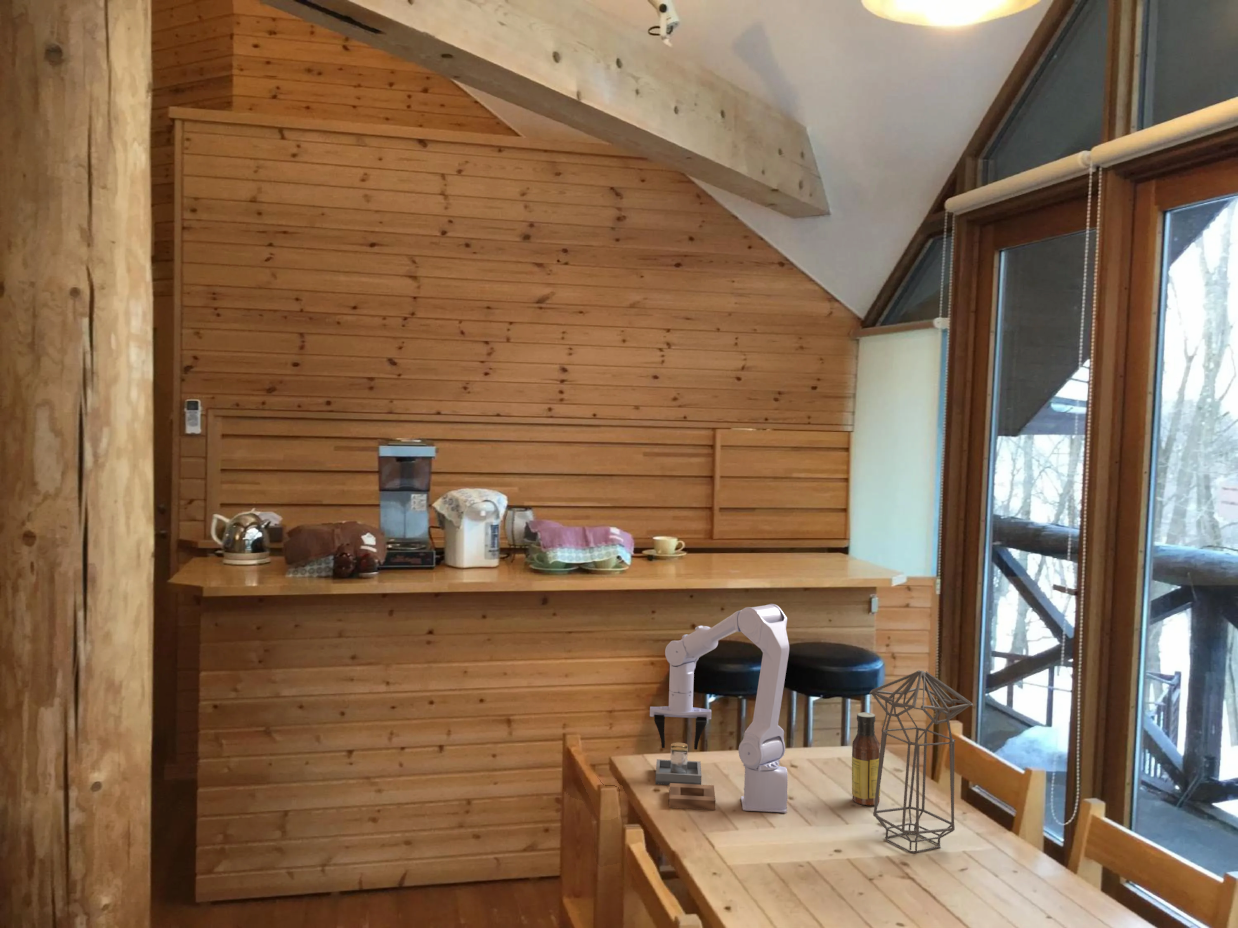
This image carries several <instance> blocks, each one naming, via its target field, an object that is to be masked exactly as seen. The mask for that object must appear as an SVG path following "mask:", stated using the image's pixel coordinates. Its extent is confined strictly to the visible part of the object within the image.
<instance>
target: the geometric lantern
mask: <svg viewBox="0 0 1238 928" xmlns="http://www.w3.org/2000/svg"><path fill="white" fill-rule="evenodd" d="M916 680H917V682H916V685H915V687H914V688H912V687H913V685H914V684H915V681H916ZM903 681H904V682H903ZM921 681H922V684H923V686H922V688H920V686H921ZM900 682H903V683H902V684H901V685H900V686H899V687H898V688H896V689H895V691H885V690H883V689H885V688H887V687H890V686H892V685H895V684H897V683H900ZM929 687H930V689H931V690H930V689H929ZM902 689H903V690H902ZM943 689H944V690H945V691H947V693H950V694H951V695H953V697H956V698H957V699H952V698H951V697H950V696H949V695H948V694H947V693H946V692H945V691H944V690H943ZM919 691H922V705H921V706H920V707H916V706H917V700H918V696H919ZM912 692H913V693H912ZM925 692H926V693H927V697H928V699H929V703H930V705H925ZM909 693H912V694H911V695H910V696H909V697H908V699H907V698H906V697H907V695H908V694H909ZM869 695H872V697H873V698H874V700H875V701H876V702H877V703H878V705H880V706H879V707H881V709H882V710H883V711H884V712H885V716H884V717H885V718H884V720H883V723H882V728H881V735H880V737H881V738H880V755H879V765H878V775H877V785H876V795H875V804H874V805H873V812H872V813H873V815H872V816H873V817H874V818H875V819H876V820H877V821H878V823H879V824H881V826H882V828H884V829H885V837H884V839H885V841H887V842H888V843H890V844H893V845H895V846H897V847H898V848H899V849H902V850H904V851H906V852H908V853H911V854H917V853H922V852H926V851H931V850H936V849H940V848H941V839H942V838H944V837H945V836H948V835H949V834H951V833H953V832H954V831H955V754H956V753H955V752H956V751H955V743H956V739H954V738H953V735H952V729H951V723H950V720H951V719H953V718H955V717H956V716H957V715H959V714H961V713H962V712H963V711H965V710H967V709H968V708H969V707H970V706H971V707H973V705H974V703H972V701H970V700H969V699H967V698H966V697H964V696H963V695H961V694H960V693H959V692H957V691H955V690H954V689H953V688H951V687H950V686H948V685H947V684H945V683H944V682H942V681H941V680H940V679H938V678H937V677H935V676H934V675H932V674H931V673H930V672H928V671H924V670H919V669H918V670H916V671H915V672H911V673H910V674H907V675H906V676H903V677H901V678H898V679H896V680H893V681H890V682H888V683H886V684H882V685H881V686H878V687H876V688H873V689H871V690H870V692H869ZM886 695H889V696H886ZM897 695H898V697H897V698H896V699H895V696H897ZM934 696H935V697H937V698H938V700H939V701H940V703H941V705H942V707H941V706H940V704H939V703H938V702H937V700H936V699H935V698H934ZM902 697H903V701H902V703H901V702H900V700H901V698H902ZM879 698H880V699H881V700H883V701H884V702H885V703H882V701H881V700H880V699H879ZM906 699H907V700H906ZM911 700H912V704H909V703H910V702H911ZM956 703H958V704H959V703H961V704H959V705H958V704H957V705H956ZM888 704H889V705H890V706H891V708H890V710H889V709H888ZM947 704H948V705H952V706H950V707H949V706H947ZM897 708H902V710H901V711H899V712H897V711H896V709H897ZM912 709H913V710H919V711H923V713H925V715H926V716H927V717H928V718H929V719H930V722H929V724H928V725H927V726H926V728H923V727H918V725H917V723H915V721H914V718H912V716H911V714H910V713H909V711H911V710H912ZM927 709H928V710H929V709H931V710H933V711H935V716H934V717H933V716H932V715H931V714H930V713H929V712H928V711H927ZM950 711H951V712H950ZM905 713H907V716H908V717H909V718H910V720H911V721H912V723H913V725H914V726H915V727H914V726H913V727H904V725H903V723H902V720H901V718H900V716H901V715H903V714H905ZM941 713H943V714H945V716H946V718H945V719H941V720H939V719H938V718H939V716H940V715H941ZM892 717H895V718H896V720H897V722H898V724H899V725H900V727H901V728H890V729H889V726H890V723H891V719H892ZM942 723H943V724H944V723H946V724H947V730H948V736H946V735H944V734H942V733H937V732H936V731H933V730H930V728H931V726H932V725H933V724H935V725H938V724H942ZM885 724H886V725H885ZM884 728H885V729H884ZM908 730H915V740H914V742H913V741H911V739H910V738H909V737H910V736H909V735H908V733H907V731H908ZM895 731H897V732H898V731H903V734H904V736H905V738H906V740H905V739H902V738H900V737H897V736H896V735H894V734H893V735H892V734H891V733H889V732H895ZM920 731H921V732H922V733H921V734H920V733H919V732H920ZM928 733H931V734H934V735H936V736H939V737H941V738H944V739H947V740H949V742H944V741H943V742H935V743H934V742H933V743H932V742H931V743H928ZM919 734H920V735H919ZM923 735H924V738H923V739H924V741H923V743H918V742H919V741H920V739H921V738H922V737H923ZM887 737H891V738H893V739H896V740H898V741H901V742H903V743H906V744H907V752H906V753H907V754H906V765H905V780H904V791H903V792H904V794H903V805H902V806H901V807H895V808H894V807H892V808H886V809H880V810H879V809H878V798H879V790H880V791H881V782H882V775H883V768H884V760H885V752H886V746H887V745H886V744H887ZM912 745H913V746H914V749H913V750H914V751H913V759H912V769H911V780H910V790H909V799H908V798H907V797H908V789H909V787H908V784H909V774H910V773H909V771H910V759H911V758H910V757H911V746H912ZM939 745H948V746H949V780H950V781H949V782H950V820H951V821H950V820H948V819H945V818H943V817H941V816H938V815H937V814H934V813H932V812H931V811H928V810H926V809H925V808H926V807H925V802H926V775H927V774H926V773H927V751H928V750H927V746H939ZM920 747H923V762H922V763H923V768H922V794H921V797H922V798H921V807H920ZM915 775H916V776H915ZM915 778H916V779H915ZM915 780H916V784H915ZM914 784H915V789H916V791H915V795H916V796H915V807H914V806H912V803H913V801H912V800H913V796H914V795H913V793H914ZM907 799H908V801H907ZM907 802H908V806H907ZM907 810H908V816H909V822H907V823H906V815H907ZM911 810H913V811H915V822H914V823H912V811H911ZM897 811H902V821H901V822H902V823H901V824H898V825H897V824H894V823H892V822H890V821H888V820H886V819H884V818H883V817H881V816H880V815H879V814H881V813H889V812H897ZM923 813H925V814H927V815H929V816H931V817H933V818H936V819H937V820H940V821H942V822H944V823H946V824H948V825H949V826H948V827H946V828H935V829H928V828H927V827H926V828H925V827H923V826H921V825H920V818H921V817H922V815H923ZM906 826H908V830H907V829H906V830H905V828H906ZM911 826H913V830H911ZM892 829H896V830H897V831H899V832H901V833H898V832H895V831H893V830H892ZM920 829H921V830H920ZM889 832H890V833H892V834H891V835H889ZM909 833H910V834H911V833H912V835H915V839H914V840H913V839H911V838H910V837H909V835H908V834H909ZM923 834H933V835H936V837H934V836H933V837H929V838H928V837H926V836H924V835H923ZM904 835H905V836H904ZM894 837H900V838H902V839H904V840H906V841H908V842H909V848H906V847H904V846H903V845H902V846H901V845H900V844H899V843H896V842H894V841H892V840H891V839H889V838H894ZM918 837H920V839H918ZM921 838H922V839H921ZM935 840H937V841H935ZM924 841H926V842H927V841H929V842H931V843H933V844H935V845H937V846H931V847H927V848H922V849H919V850H918V842H924ZM912 843H915V844H914V845H915V846H914V850H912Z"/></svg>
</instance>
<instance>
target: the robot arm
mask: <svg viewBox="0 0 1238 928" xmlns="http://www.w3.org/2000/svg"><path fill="white" fill-rule="evenodd" d="M787 625H788V617H787V615H786V614H785V613H784V611H783V610H782V608H781V607H780V606H779V605H777V604H775V603H769V604H766V605H758V606H752V607H750V606H746V607H744V608H742V609H741V610H737V611H735V612H734V613H732V614H731V615H729V616H728V617H726V618H724V619H722V620H721V621H719V622H718V623H717V624H715V625H714V626H711V627H710V626H708V625H697V626H696V627H695V628H694V631H692V632H691V633H689V634H683V635H682V636H681V639H680V640H671V641H670V642H669V643H668V644H667V645H666V647H665V652H664V655H665V659H666V661H667V663H668V664H669V686H668V687H669V688H668V690H669V691H668V706H667V705H666V706H665V705H664V706H649V717H651V718H653V719H654V724H655V726H656V728H657V730H658V734H659V738H660V742H661V749H665V747H666V744H665V743H666V739H665V738H666V737H665V728H666V727H665V726H666V725H665V723H666V722H665V720H666V717H667V718H669V717H670V718H688V719H690V718H691V719H695V731H694V733H695V734H694V741H693V742H694V746H693V748H694V750H698V746H699V742H700V740H701V739H700V738H701V736H702V733H703V731H704V729H705V727H706V726H707V720H712V709H709V708H701V707H693V705H694V682H695V681H694V680H695V678H694V677H695V674H694V673H695V670H696V666H697V662H698V661H699V658H701V657H703V656H704V655H706V654H708V653H709V652H712V651H713V650H715V649H716V648H717V647H718V645H719V641H720V640H722V639H724V638H726V637H728V636H730V635H732V634H735V633H740V632H741V633H742V634H743V635H744V636H745V637H746V638H747V639H749V640H750V641H751V642H752V644H754V645H755V646H756V647H757V648H758V649H760V651H761V652H762V657H761V664H760V671H759V672H760V673H759V677H758V683H757V684H758V685H757V691H756V698H755V702H754V703H755V705H754V709H753V717H752V722H751V723H750V724H749V726H748V727H747V728H746V730H745V731H744V734H743V738H742V740H741V742H739V746H738V757H739V759H740V761H741V763H743V764H742V766H743V767H744V780H743V781H744V785H743V786H744V787H743V791H744V792H743V795H741V796H740V801H741V807H742V810H743V811H750V812H767V813H768V812H769V813H784V814H786V813H788V812H787V810H788V809H787V807H788V806H787V805H788V804H787V803H788V796H789V795H788V781H789V780H788V769H787V766H781V765H780V760H781V759H782V758H783V757H784V756H785V753H786V744H785V740H784V735H785V731H784V729H783V728H782V727H781V726H780V725H779V720H780V714H781V707H782V701H783V693H784V689H785V688H784V687H785V682H786V681H785V679H786V675H787V674H786V673H787V668H788V661H789V654H790V643H789V642H790V641H789V638H788V632H787Z"/></svg>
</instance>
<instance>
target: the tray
mask: <svg viewBox="0 0 1238 928" xmlns="http://www.w3.org/2000/svg"><path fill="white" fill-rule="evenodd" d="M670 763H671V759H657V758H656V765H655V767H656V768H655V785H662V786H663V785H667V786H668V785H669V786H670V783H678V784H698V785H702V776H703V775H702V765H701V764H702V763H701V761H697V760H696V761H695V760H687V774H679V773H670Z"/></svg>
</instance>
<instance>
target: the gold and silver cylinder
mask: <svg viewBox="0 0 1238 928" xmlns="http://www.w3.org/2000/svg"><path fill="white" fill-rule="evenodd" d="M688 747H689V746H688V744H687V743H684V742H672V743H671V744H670V760H671V763H670V773H679V774H687V761H688V755H689V754H688V751H689V750H688V749H689V748H688Z"/></svg>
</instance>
